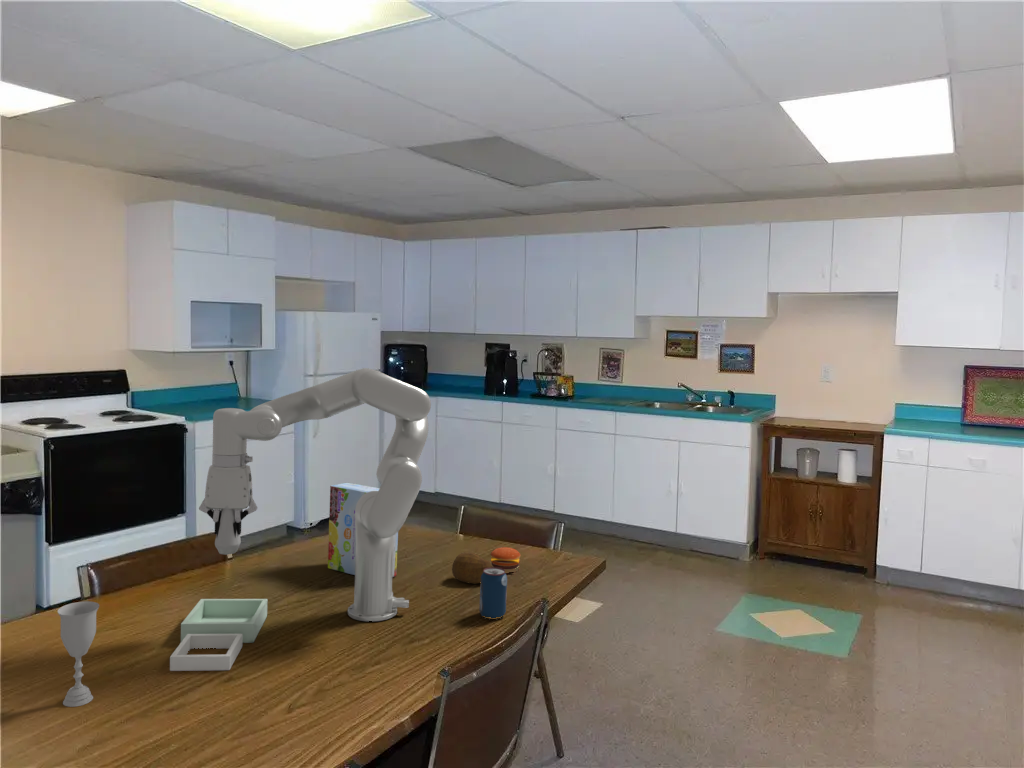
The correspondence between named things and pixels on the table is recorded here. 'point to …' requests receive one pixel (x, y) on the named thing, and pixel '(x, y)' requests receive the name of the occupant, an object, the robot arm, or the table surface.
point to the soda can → (493, 592)
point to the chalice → (78, 644)
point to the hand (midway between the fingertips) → (227, 536)
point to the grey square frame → (206, 662)
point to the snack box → (347, 527)
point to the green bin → (226, 618)
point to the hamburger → (505, 558)
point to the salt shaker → (227, 533)
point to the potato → (469, 567)
